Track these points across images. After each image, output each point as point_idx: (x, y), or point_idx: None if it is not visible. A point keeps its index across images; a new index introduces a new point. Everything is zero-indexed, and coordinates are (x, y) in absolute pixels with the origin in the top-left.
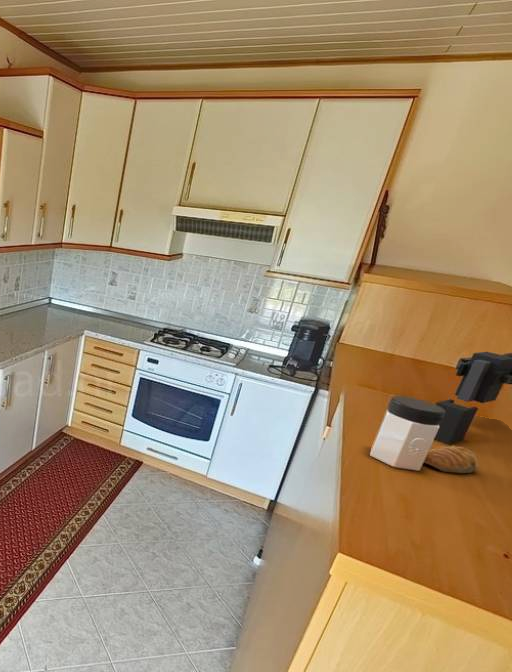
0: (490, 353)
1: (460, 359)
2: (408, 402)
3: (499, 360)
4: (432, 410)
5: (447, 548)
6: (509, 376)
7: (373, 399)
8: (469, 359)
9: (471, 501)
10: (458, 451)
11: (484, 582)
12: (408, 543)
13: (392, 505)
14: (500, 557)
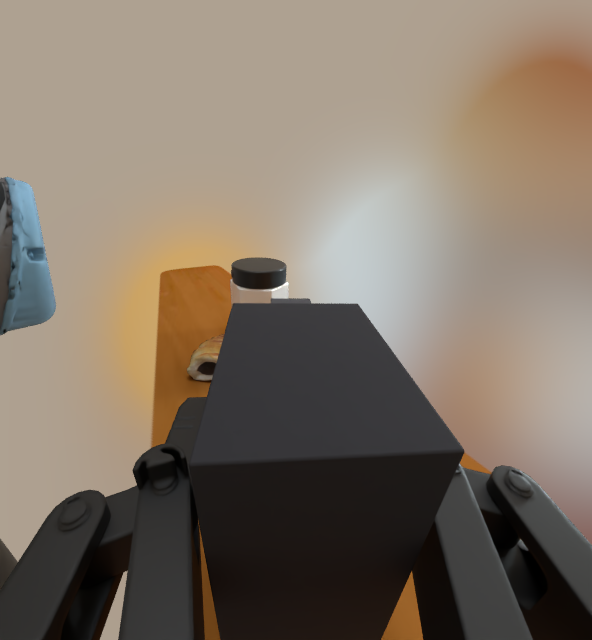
0: (375, 392)
1: (508, 467)
2: (265, 261)
3: (246, 308)
4: (240, 261)
5: (186, 283)
6: (188, 409)
7: None
8: (569, 576)
9: (182, 324)
10: (213, 343)
11: (167, 277)
12: (202, 277)
13: (222, 291)
14: (160, 291)
